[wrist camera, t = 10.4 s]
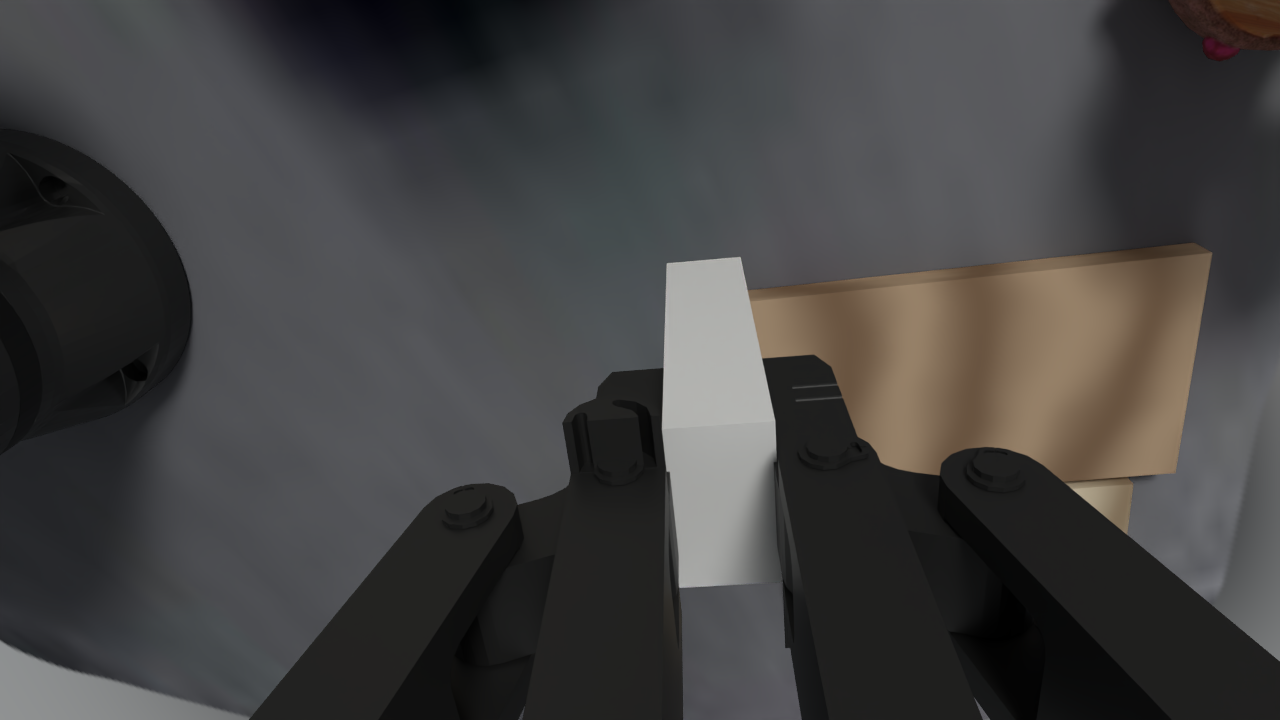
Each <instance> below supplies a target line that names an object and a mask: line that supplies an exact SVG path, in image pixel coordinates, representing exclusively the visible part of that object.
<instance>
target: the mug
mask: <svg viewBox="0 0 1280 720" xmlns="http://www.w3.org/2000/svg"><path fill="white" fill-rule="evenodd" d="M1168 1H1169V3H1170V4H1171V6H1172V8H1173V10H1174V11H1175V13H1176V14H1177V15H1178V16H1179V17H1180V19H1181V20H1182V21H1183V22H1184V23H1185V25H1186V26H1187V27H1188V28H1189V29H1191V30H1192V31H1194V32H1195V33H1197V34H1198V35H1200V36H1201V37H1202V38H1204V40H1203V42H1202V45H1203V52H1204V53H1205V55H1206V56H1207V57H1208V58H1209V59H1212V60H1216V61H1223V60H1228V59H1230V58H1232V57H1233V56H1235V55H1236V54H1238V52H1239V50H1240V49H1247V50H1280V0H1168Z"/></svg>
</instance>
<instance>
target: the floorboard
mask: <svg viewBox="0 0 1280 720" xmlns="http://www.w3.org/2000/svg"><path fill="white" fill-rule="evenodd" d="M1211 258H1212V252H1210V251H1208V250H1207V249H1205V248H1203V247H1201V246H1200V245H1198V244H1196V243H1185V244H1176V245H1167V246H1157V247H1148V248H1139V249H1130V250H1120V251H1111V252H1102V253H1092V254H1083V255H1074V256H1064V257H1055V258H1046V259H1036V260H1027V261H1018V262H1008V263H999V264H990V265H980V266H971V267H962V268H952V269H943V270H934V271H924V272H915V273H906V274H896V275H887V276H878V277H868V278H859V279H850V280H840V281H831V282H822V283H812V284H803V285H794V286H785V287H775V288H766V289H757V290H747V291H748V295H749V300H750V305H751V309H752V314H753V319H754V323H755V328H756V333H757V338H758V342H759V347H760V352H761V356H762V358H774V357H787V356H800V355H813V354H814V355H816V356H817V357H818V358H820V359H821V360H822V361H824V362H825V363H827V364H828V365H829V366H831V367H832V370H833V373H834V375H835V378H836V381H837V385H838V386H839V389H840V391H841V394H842V398H843V399H844V402H845V404H846V407H847V410H848V412H849V415H850V418H851V420H852V423H853V426H854V428H855V431H856V434H857V436H858V437H859V438H861V439H863V440H865V441H866V442H868V443H869V444H870V445H871V446H872V447H873V449H874V450H875V451H876V452H877V455H878V457H879V460H880V462H881V463H883V464H885V465H887V466H890V467H893V468H896V469H900V470H905V471H910V472H916V473H924V474H932V475H940V469H941V463H942V462H943V461H944V460H945V459H946V458H947V457H948V456H950V455H951V454H953V453H956V452H959V451H961V450H964V449H968V448H980V447H994V448H1003V449H1008V450H1011V451H1014V452H1018V453H1021V454H1024V455H1027V456H1029V457H1031V458H1032V459H1034V460H1036V461H1037V462H1039V463H1041V464H1042V465H1044V466H1045V467H1046V468H1047V469H1048V470H1050V471H1051V472H1052V473H1053V474H1054V475H1056V476H1057V477H1058V478H1059V479H1061V480H1062V481H1063V482H1066V481H1079V480H1092V479H1105V478H1117V477H1130V476H1143V475H1156V474H1169V473H1175V472H1176V466H1177V460H1178V454H1179V448H1180V442H1181V436H1182V430H1183V424H1184V418H1185V412H1186V406H1187V400H1188V394H1189V389H1190V383H1191V377H1192V371H1193V365H1194V359H1195V353H1196V347H1197V341H1198V335H1199V329H1200V323H1201V317H1202V311H1203V305H1204V300H1205V294H1206V288H1207V282H1208V276H1209V270H1210V264H1211Z"/></svg>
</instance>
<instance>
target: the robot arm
mask: <svg viewBox="0 0 1280 720" xmlns="http://www.w3.org/2000/svg"><path fill="white" fill-rule="evenodd" d="M190 318H191V307H190V296H189V289H188V285H187V280H186V277H185V273H184V270H183V267H182V264H181V262H180V259H179V257H178V255H177V252H176V250H175V248H174V246H173V244H172V242H171V240H170V239H169V237H168V235H167V234H166V232H165V230H164V229H163V227H162V226H161V224H160V223H159V221H158V220H157V219H156V217H155V216H154V215H153V213H152V212H151V211H150V209H149V208H148V207H147V206H146V205H145V204H144V202H143V201H142V200H141V199H140V198H139V197H138V196H137V195H136V194H135V193H134V192H133V191H132V190H131V189H130V188H129V187H128V186H127V185H126V184H125V183H124V182H122V181H121V180H120V179H119V178H118V177H116V176H115V175H114V174H113V173H111V172H110V171H109V170H107V169H106V168H105V167H103V166H102V165H100V164H99V163H97V162H96V161H94V160H93V159H91V158H89V157H88V156H86V155H84V154H82V153H81V152H79V151H77V150H75V149H73V148H71V147H69V146H66V145H64V144H62V143H59V142H57V141H54V140H52V139H49V138H46V137H43V136H39V135H36V134H32V133H27V132H22V131H16V130H7V129H0V455H1V454H2V453H4V452H5V451H7V450H8V449H9V448H11V447H12V446H14V445H15V444H17V443H18V442H20V441H23V440H26V439H30V438H33V437H37V436H40V435H43V434H47V433H50V432H54V431H57V430H61V429H64V428H68V427H71V426H75V425H78V424H82V423H85V422H89V421H92V420H96V419H99V418H102V417H106V416H108V415H111V414H113V413H115V412H117V411H119V410H121V409H123V408H125V407H127V406H129V405H130V404H132V403H134V402H135V401H136V400H138V399H139V398H140V397H142V396H143V395H144V394H145V393H147V392H148V391H149V390H150V389H152V388H153V387H154V386H156V385H157V384H158V383H159V382H161V381H162V380H163V379H164V378H165V377H166V376H167V375H168V374H169V373H170V371H171V370H172V369H173V368H174V366H175V365H176V363H177V362H178V360H179V358H180V356H181V355H182V352H183V350H184V348H185V345H186V342H187V338H188V334H189V328H190ZM562 424H563V430H564V435H565V441H566V447H567V453H568V459H569V465H570V471H571V477H570V482H569V486H567V487H566V488H564V489H563V490H561V491H559V492H557V493H555V494H553V495H550V496H547V497H544V498H541V499H538V500H534V501H531V502H527V503H523V504H520V505H517V502H516V499H515V496H514V494H513V493H512V492H510V491H509V490H508V489H506V488H505V487H503V486H498V485H494V484H490V483H486V484H469V485H464V486H460V487H457V488H454V489H452V490H450V491H448V492H446V493H444V494H442V495H440V496H438V497H436V498H435V499H434V500H432V501H431V502H430V503H429V504H428V505H427V506H425V507H424V508H423V510H422V511H421V512H420V513H419V514H418V516H417V517H416V518H415V519H414V520H413V522H412V523H411V524H410V525H409V526H408V528H407V529H406V530H405V531H404V533H403V534H402V535H401V536H400V537H399V539H398V540H397V541H396V542H395V543H394V545H393V546H392V547H391V548H390V550H389V551H388V552H387V553H386V554H385V556H384V557H383V558H382V559H381V560H380V562H379V563H378V564H377V565H376V566H375V568H374V569H373V570H372V571H371V573H370V574H369V575H368V576H367V577H366V579H365V580H364V581H363V582H362V583H361V585H360V586H359V587H358V588H357V590H356V591H355V592H354V593H353V594H352V596H351V597H350V598H349V599H348V600H347V602H346V603H345V604H344V605H343V606H342V608H341V609H340V610H339V611H338V613H337V614H336V615H335V616H334V617H333V619H332V620H331V621H330V622H329V623H328V625H327V626H326V627H325V628H324V629H323V631H322V632H321V633H320V634H319V636H318V637H317V638H316V639H315V640H314V642H313V643H312V644H311V645H310V646H309V648H308V649H307V650H306V651H305V653H304V654H303V655H302V656H301V657H300V659H299V660H298V661H297V662H296V663H295V665H294V666H293V667H292V668H291V669H290V671H289V672H288V673H287V674H286V676H285V677H284V678H283V679H282V680H281V682H280V683H279V684H278V685H277V686H276V688H275V689H274V690H273V691H272V692H271V694H270V695H269V696H268V697H267V699H266V700H265V701H264V702H263V703H262V705H261V706H260V707H259V708H258V709H257V711H256V712H255V713H254V714H253V716H252V717H251V718H250V719H249V720H518V719H519V716H520V714H521V712H522V710H523V708H524V706H525V710H524V715H523V720H683V676H682V611H681V602H680V593H679V588H686V587H704V586H722V585H740V584H758V583H777V582H782V578H781V571H782V577H783V600H784V626H785V648H790V649H791V655H792V661H793V668H794V674H795V680H796V686H797V692H798V699H799V705H800V711H801V717H802V720H983V719H982V716H981V714H980V711H979V709H978V706H977V704H976V701H975V699H976V700H977V702H978V703H979V704H980V706H981V707H982V709H983V710H984V711H985V713H986V714H987V716H988V717H989V718H990V720H1280V661H1278V660H1277V659H1276V658H1275V657H1274V656H1272V655H1271V654H1270V653H1269V652H1268V651H1266V650H1265V649H1264V648H1263V647H1262V646H1260V645H1259V644H1258V643H1257V642H1255V641H1254V640H1253V639H1252V638H1250V636H1248V635H1247V634H1246V633H1245V632H1243V631H1242V630H1241V629H1240V628H1238V627H1237V626H1236V625H1235V624H1234V623H1233V622H1231V621H1230V620H1229V619H1228V618H1227V617H1225V616H1224V615H1223V614H1222V613H1221V612H1219V611H1218V610H1217V609H1216V608H1215V607H1213V606H1212V605H1211V604H1210V603H1209V602H1207V601H1206V600H1205V599H1204V598H1203V597H1201V596H1200V595H1199V594H1198V593H1197V592H1195V591H1194V590H1193V589H1192V588H1191V587H1189V586H1188V585H1187V584H1186V583H1185V582H1183V581H1182V580H1181V579H1180V578H1178V577H1177V576H1176V575H1175V574H1174V573H1172V572H1171V571H1170V570H1169V569H1168V568H1166V567H1165V566H1164V565H1163V564H1162V563H1160V562H1159V561H1158V560H1157V559H1156V558H1154V557H1153V556H1152V555H1151V554H1150V553H1148V552H1147V551H1146V550H1145V549H1144V548H1142V547H1141V546H1140V545H1139V544H1138V543H1136V542H1135V541H1134V540H1133V539H1132V538H1130V537H1129V536H1128V535H1127V534H1126V533H1124V532H1123V531H1122V530H1121V529H1119V528H1118V527H1117V526H1116V525H1115V524H1113V523H1112V522H1111V521H1110V520H1109V519H1107V518H1106V517H1105V516H1104V515H1103V514H1101V513H1100V512H1099V511H1098V510H1097V509H1095V508H1094V507H1093V506H1092V505H1091V504H1089V503H1088V502H1087V501H1086V500H1085V499H1083V498H1082V497H1081V496H1080V495H1079V494H1077V493H1076V492H1075V491H1074V490H1073V489H1071V488H1070V487H1069V486H1068V485H1067V484H1065V483H1064V482H1063V481H1062V480H1061V479H1059V478H1058V477H1057V476H1056V475H1054V474H1053V473H1052V472H1051V471H1050V470H1048V469H1047V468H1046V467H1045V466H1044V465H1042V464H1041V463H1039V462H1037V461H1036V460H1034V459H1032V458H1031V457H1029V456H1027V455H1024V454H1021V453H1018V452H1014V451H1011V450H1008V449H1003V448H994V447H980V448H968V449H964V450H961V451H959V452H956V453H953V454H951V455H950V456H948V457H947V458H946V459H945V460H944V461H943V462H942V463H941V469H940V475H932V474H924V473H916V472H910V471H905V470H900V469H896V468H893V467H890V466H887V465H885V464H883V463H881V462H880V460H879V457H878V455H877V452H876V451H875V450H874V449H873V447H872V446H871V445H870V444H869V443H868V442H866V441H865V440H863V439H861V438H859V437H858V436H857V434H856V431H855V428H854V426H853V423H852V420H851V418H850V415H849V412H848V410H847V407H846V404H845V402H844V399H843V398H842V394H841V391H840V389H839V386H838V385H837V381H836V378H835V375H834V373H833V370H832V367H831V366H829V365H828V364H827V363H825V362H824V361H822V360H821V359H820V358H818V357H817V356H816V355H814V354H813V355H800V356H787V357H774V358H762V356H761V352H760V347H759V342H758V338H757V333H756V328H755V323H754V319H753V314H752V309H751V305H750V300H749V295H748V291H747V286H746V281H745V276H744V272H743V267H742V262H741V258H740V257H734V258H723V259H712V260H700V261H689V262H677V263H667V277H666V310H665V343H664V368H660V369H647V370H634V371H621V372H612V373H611V374H610V375H609V376H608V377H607V378H606V379H605V380H604V381H603V383H602V384H601V385H600V386H599V387H598V392H597V397H596V399H594V400H591V401H589V402H586V403H583V404H581V405H579V406H578V407H576V408H575V409H573V410H572V411H571V412H569V413H568V414H567V416H566V418H565V419H564V421H563V423H562ZM974 697H975V699H974ZM525 704H526V705H525Z"/></svg>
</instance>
